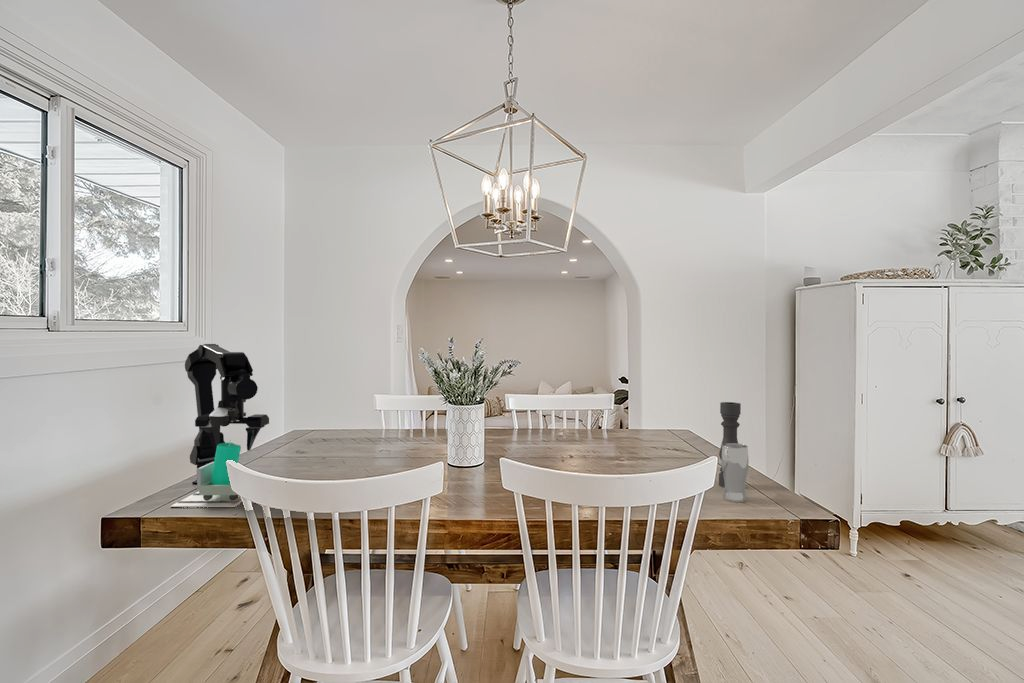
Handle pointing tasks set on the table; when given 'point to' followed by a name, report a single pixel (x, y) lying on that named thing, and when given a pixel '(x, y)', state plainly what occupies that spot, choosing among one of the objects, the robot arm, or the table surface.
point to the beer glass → (734, 471)
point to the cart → (207, 487)
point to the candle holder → (729, 428)
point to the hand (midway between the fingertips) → (232, 450)
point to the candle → (222, 455)
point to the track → (199, 501)
